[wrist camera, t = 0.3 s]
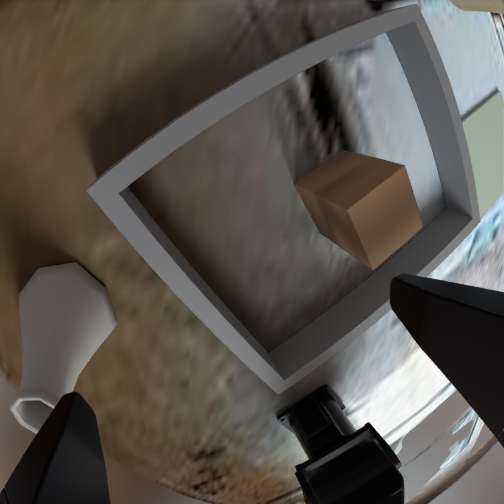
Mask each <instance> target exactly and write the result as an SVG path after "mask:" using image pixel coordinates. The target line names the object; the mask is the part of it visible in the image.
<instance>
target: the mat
mask: <svg viewBox="0 0 504 504" xmlns="http://www.w3.org/2000/svg"><path fill="white" fill-rule="evenodd" d="M461 121H462V125H463V128H464V132H465V136H466V140H467V145H468V149H469V154H470V158H471V163H472V169H473V174H474V179H475V185H476V192H477V198H478V206H479V213H480V219H481V218H482V217H483V216H484V215H485V214H486V213H487V212H488V210H489V209H490V208H491V207H492V206H493V205H494V203H495V202H496V201H497V200H498V199H499V198H500V196H501V195H502V194H503V193H504V103H503V99H502V95H501V91H497V92H496V93H494V94H493V95H492V96H491V97H490V98H488V99H487V100H486V101H485V102H483V103H482V104H481V105H480V106H479V107H477V108H476V109H475V110H474V111H472V112H471V113H470V114H469V115H468V116H466V117H465V118H464V119H463V120H461Z"/></svg>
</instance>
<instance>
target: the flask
mask: <svg viewBox="0 0 504 504" xmlns="http://www.w3.org/2000/svg"><path fill="white" fill-rule="evenodd" d="M19 313H20V323H21V338H22V350H23V366H22V381H21V385H20V388H19V392H18V393H17V395H16V396H15V397H14V398H13V400H12V401H11V402H10V404H9V409H10V411H11V412H12V414H13V415H14V416H15V418H16V419H17V421H18V422H19V423H20V424H21V425H22V426H24V427H26V428H27V429H29V430H31V431H32V432H34V433H36V434H37V433H38V431H39V430H40V428H41V427H42V425H43V424H44V422H45V421H46V419H47V418H48V416H49V415H50V413H51V412H52V410H53V409H54V407H55V406H56V404H57V403H58V402H59V400H60V399H61V397H62V396H63V395H64V394H66V393H70V392H72V391H73V388H74V386H75V383H76V381H77V379H78V376H79V374H80V372H81V371H82V370H83V368H84V367H85V365H86V364H87V363H88V361H89V360H90V358H91V357H92V356H93V354H94V353H95V351H96V350H97V349H98V347H99V346H100V345H101V344H102V343H103V341H104V340H105V339H106V338H107V336H108V335H109V334H110V333H111V332H112V330H113V329H114V328H115V326H116V325H117V323H116V320H115V316H114V312H113V309H112V305H111V301H110V297H109V293H108V290H107V289H106V288H105V287H104V286H103V285H101V284H100V283H99V282H98V281H97V280H96V279H94V278H93V277H92V276H91V275H90V274H89V273H88V272H86V271H85V270H84V269H83V268H82V267H81V266H80V265H79V264H78V263H76V262H74V263H67V264H61V265H54V266H48V267H41V268H38V269H37V270H36V272H35V273H34V274H33V276H32V277H31V278H30V280H29V281H28V282H27V284H26V285H25V286H24V288H23V289H22V290H21V292H20V293H19Z"/></svg>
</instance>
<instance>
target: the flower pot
mask: <svg viewBox="0 0 504 504" xmlns="http://www.w3.org/2000/svg"><path fill="white" fill-rule="evenodd" d="M451 1H452V2H453V3H454V4H455V5H456V6H457V7H458V8H460V9H462V10H465V11H482V12H493V13H502V14H504V0H451Z"/></svg>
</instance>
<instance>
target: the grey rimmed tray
mask: <svg viewBox="0 0 504 504" xmlns="http://www.w3.org/2000/svg"><path fill="white" fill-rule="evenodd" d="M385 32H386V33H387V35H388V37H389V39H390V41H391V43H392V45H393V47H394V50H395V52H396V54H397V56H398V58H399V61H400V63H401V65H402V67H403V70H404V72H405V74H406V77H407V79H408V82H409V84H410V87H411V89H412V92H413V94H414V97H415V100H416V102H417V105H418V108H419V111H420V114H421V116H422V119H423V122H424V125H425V128H426V131H427V135H428V138H429V141H430V144H431V148H432V151H433V154H434V158H435V162H436V165H437V169H438V173H439V177H440V181H441V185H442V189H443V193H444V198H445V202H446V207H447V208H446V209H445V210H444V211H443V212H441V213H440V214H439V215H438V216H437V217H436V218H435V219H434V220H433V221H432V222H431V223H430V224H429V225H428V226H427V227H425V228H424V229H423V230H422V231H421V232H420V233H419V234H418V235H417V236H416V237H414V238H413V239H412V240H411V241H410V242H409V243H408V244H407V245H405V246H404V247H403V248H402V249H401V250H400V251H399V252H397V253H396V254H395V255H394V256H393V257H392V258H391V259H389V260H388V261H387V262H386V263H385V264H384V265H382V266H381V267H380V268H379V269H378V270H376V271H375V272H374V273H373V274H372V275H370V276H369V277H368V278H367V279H366V280H364V281H363V282H362V283H361V284H359V285H358V286H357V287H356V288H355V289H353V290H352V291H351V292H350V293H348V294H347V295H346V296H345V297H343V298H342V299H341V300H339V301H338V302H337V303H336V304H334V305H333V306H332V307H330V308H329V309H328V310H327V311H325V312H324V313H323V314H321V315H320V316H319V317H317V318H316V319H315V320H313V321H312V322H311V323H309V324H308V325H307V326H305V327H304V328H303V329H301V330H300V331H299V332H297V333H296V334H295V335H293V336H292V337H290V338H289V339H288V340H286V341H285V342H284V343H282V344H281V345H279V346H278V347H276V348H275V349H274V350H272V351H271V352H269V353H268V352H267V351H266V350H265V349H264V348H263V346H262V345H261V344H260V343H259V342H258V341H257V340H256V339H255V338H254V337H253V336H252V334H251V333H250V332H249V331H248V330H247V329H246V328H245V327H244V326H243V324H242V323H241V322H240V321H239V320H238V319H237V318H236V317H235V315H234V314H233V313H232V312H231V311H230V310H229V309H228V307H227V306H226V305H225V304H224V303H223V302H222V301H221V299H220V298H219V297H218V296H217V295H216V294H215V293H214V291H213V290H212V289H211V288H210V287H209V286H208V284H207V283H206V282H205V281H204V280H203V279H202V277H201V276H200V275H199V274H198V273H197V272H196V270H195V269H194V268H193V267H192V266H191V264H190V263H189V262H188V261H187V260H186V258H185V257H184V256H183V255H182V254H181V252H180V251H179V250H178V249H177V248H176V246H175V245H174V244H173V243H172V242H171V240H170V239H169V238H168V237H167V235H166V234H165V233H164V232H163V231H162V229H161V228H160V227H159V226H158V224H157V223H156V222H155V221H154V219H153V218H152V217H151V216H150V214H149V213H148V212H147V211H146V209H145V208H144V207H143V206H142V204H141V203H140V202H139V200H138V199H137V198H136V197H135V195H134V194H133V193H132V192H131V190H130V189H129V188H128V186H129V185H130V184H131V183H132V182H134V181H135V180H136V179H137V178H139V177H140V176H141V175H143V174H144V173H145V172H147V171H148V170H149V169H150V168H152V167H153V166H154V165H156V164H157V163H158V162H160V161H161V160H162V159H164V158H165V157H167V156H168V155H169V154H171V153H172V152H173V151H175V150H176V149H178V148H179V147H180V146H182V145H183V144H185V143H186V142H188V141H189V140H190V139H192V138H193V137H195V136H196V135H198V134H199V133H201V132H202V131H204V130H205V129H207V128H208V127H210V126H211V125H213V124H214V123H216V122H217V121H219V120H220V119H222V118H223V117H225V116H227V115H228V114H230V113H231V112H233V111H234V110H236V109H238V108H239V107H241V106H242V105H244V104H246V103H247V102H249V101H251V100H252V99H254V98H256V97H257V96H259V95H261V94H263V93H264V92H266V91H268V90H269V89H271V88H273V87H275V86H276V85H278V84H280V83H282V82H284V81H285V80H287V79H289V78H291V77H293V76H295V75H296V74H298V73H300V72H302V71H304V70H306V69H308V68H310V67H312V66H314V65H316V64H318V63H320V62H322V61H324V60H326V59H328V58H330V57H332V56H334V55H336V54H338V53H340V52H342V51H344V50H346V49H349V48H351V47H353V46H355V45H357V44H360V43H362V42H364V41H366V40H369V39H371V38H373V37H376V36H378V35H380V34H383V33H385ZM87 192H88V193H89V194H90V195H91V197H92V198H93V199H94V200H95V202H96V203H97V204H98V205H99V207H100V208H101V209H102V210H103V212H104V213H105V214H106V215H107V216H108V218H109V219H110V220H111V221H112V222H113V224H114V225H115V226H116V227H117V228H118V230H119V231H120V232H121V233H122V234H123V236H124V237H125V238H126V239H127V240H128V241H129V243H130V244H131V245H132V246H133V247H134V248H135V250H136V251H137V252H138V253H139V254H140V255H141V256H142V258H143V259H144V260H145V261H146V262H147V263H148V264H149V265H150V267H151V268H152V269H153V270H154V271H155V272H156V273H157V274H158V275H159V277H160V278H161V279H162V280H163V281H164V282H165V283H166V284H167V285H168V286H169V287H170V289H171V290H172V291H173V292H174V293H175V294H176V295H177V296H178V297H179V298H180V299H181V300H182V301H183V302H184V303H185V304H186V306H187V307H188V308H189V309H190V310H191V311H192V312H193V313H194V314H195V315H196V316H197V317H198V318H199V319H200V320H201V321H202V322H203V323H204V324H205V325H206V326H207V327H208V328H209V329H210V330H211V331H212V332H213V333H214V334H215V335H216V336H217V337H218V338H219V339H220V340H221V341H222V342H223V343H224V344H225V345H226V346H227V347H228V348H229V349H230V350H231V351H232V352H233V353H234V354H235V355H236V356H237V357H238V358H239V359H240V360H241V361H242V362H243V363H244V364H245V365H247V366H248V367H249V368H250V369H251V370H252V371H253V372H254V373H255V374H256V375H257V376H258V377H259V378H260V379H261V380H263V381H264V382H265V383H266V384H267V385H268V386H269V387H270V388H271V389H272V390H274V391H275V392H276V393H277V394H278V395H279V394H281V393H282V392H284V391H285V390H287V389H288V388H290V387H291V386H293V385H294V384H295V383H297V382H298V381H300V380H301V379H303V378H304V377H305V376H307V375H308V374H310V373H311V372H313V371H314V370H315V369H317V368H318V367H319V366H321V365H322V364H324V363H325V362H326V361H328V360H329V359H330V358H332V357H333V356H334V355H336V354H337V353H338V352H339V351H341V350H342V349H343V348H345V347H346V346H347V345H349V344H350V343H351V342H352V341H354V340H355V339H356V338H357V337H359V336H360V335H361V334H362V333H364V332H365V331H366V330H367V329H368V328H370V327H371V326H372V325H373V324H375V323H376V322H377V321H378V320H379V319H380V318H382V317H383V316H384V315H385V314H386V313H388V312H389V311H390V310H391V309H392V308H391V306H390V281H391V279H392V278H393V277H395V276H397V275H399V274H402V273H405V274H411V275H416V276H421V277H427V276H428V275H429V274H430V273H431V272H432V271H434V270H435V269H436V268H437V267H438V266H439V265H440V264H441V263H442V262H443V261H444V260H445V259H446V258H447V257H448V256H449V255H450V254H451V253H452V252H453V251H454V250H455V248H456V247H457V246H458V245H459V244H460V243H461V242H462V241H463V240H464V239H465V238H466V237H467V236H468V235H469V234H470V233H471V232H472V230H473V229H474V228H475V227H476V226H477V225H478V224H479V223H480V213H479V206H478V198H477V192H476V185H475V179H474V174H473V169H472V163H471V158H470V154H469V149H468V145H467V140H466V136H465V132H464V128H463V125H462V121H461V117H460V114H459V110H458V107H457V103H456V100H455V97H454V94H453V90H452V87H451V84H450V81H449V79H448V76H447V73H446V70H445V67H444V65H443V62H442V59H441V57H440V54H439V52H438V49H437V47H436V44H435V42H434V40H433V37H432V35H431V33H430V30H429V28H428V26H427V24H426V22H425V20H424V17H423V15H422V13H421V11H420V9H419V7H418V5H417V4H413V5H409V6H405V7H401V8H397V9H393V10H389V11H386V12H383V13H380V14H377V15H374V16H372V17H369V18H366V19H363V20H361V21H358V22H355V23H353V24H350V25H348V26H345V27H343V28H340V29H338V30H336V31H333V32H331V33H329V34H326V35H324V36H322V37H319V38H317V39H315V40H313V41H310V42H308V43H306V44H304V45H302V46H300V47H298V48H296V49H294V50H291V51H289V52H287V53H285V54H283V55H281V56H279V57H277V58H275V59H274V60H272V61H270V62H268V63H266V64H264V65H262V66H260V67H258V68H257V69H255V70H253V71H251V72H249V73H248V74H246V75H244V76H242V77H240V78H239V79H237V80H235V81H234V82H232V83H230V84H228V85H227V86H225V87H223V88H222V89H220V90H218V91H217V92H215V93H214V94H212V95H210V96H209V97H207V98H206V99H204V100H202V101H201V102H199V103H198V104H196V105H195V106H193V107H192V108H190V109H188V110H187V111H185V112H184V113H182V114H181V115H180V116H178V117H177V118H175V119H174V120H172V121H171V122H169V123H168V124H166V125H165V126H164V127H162V128H161V129H159V130H158V131H157V132H155V133H154V134H153V135H151V136H150V137H148V138H147V139H146V140H144V141H143V142H142V143H140V144H139V145H138V146H136V147H135V148H134V149H133V150H131V151H130V152H129V153H127V154H126V155H125V156H124V157H122V158H121V159H120V160H119V161H117V162H116V163H115V164H114V165H112V166H111V167H110V168H109V169H107V170H106V171H105V172H104V173H103V174H101V175H100V176H99V177H98V178H97V179H96V180H95V181H94V182H93V183H92V185H91V186H90V187H89V188H88V189H87Z"/></svg>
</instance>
